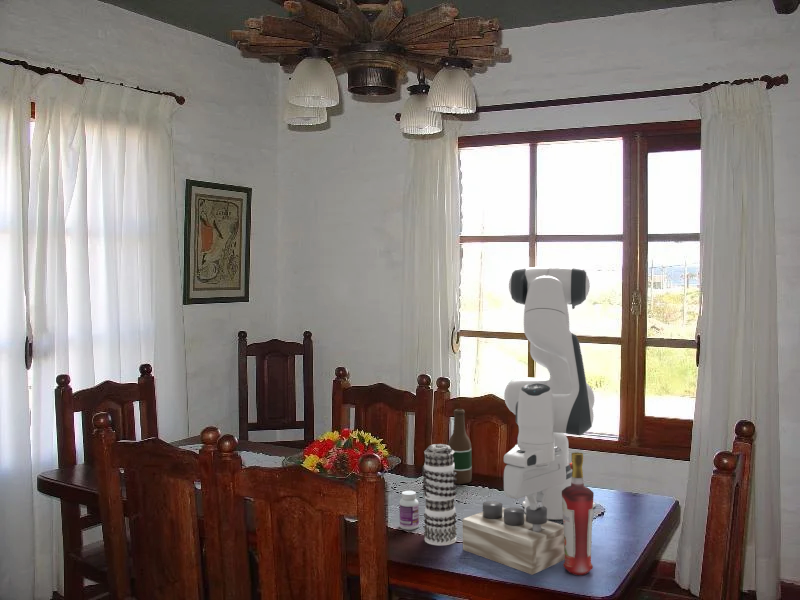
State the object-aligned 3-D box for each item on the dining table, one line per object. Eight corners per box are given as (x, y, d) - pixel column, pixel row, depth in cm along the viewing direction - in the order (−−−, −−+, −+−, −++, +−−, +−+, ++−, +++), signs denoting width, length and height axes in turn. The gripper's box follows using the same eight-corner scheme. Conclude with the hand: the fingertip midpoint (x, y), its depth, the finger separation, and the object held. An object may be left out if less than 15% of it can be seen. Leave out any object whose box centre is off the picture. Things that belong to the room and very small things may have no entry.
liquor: (558, 565, 185) (557, 450, 183) (588, 564, 185) (588, 449, 184) (566, 578, 177) (566, 458, 176) (598, 577, 178) (597, 457, 176)
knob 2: (512, 537, 196) (512, 506, 195) (528, 542, 192) (528, 510, 192) (500, 542, 193) (499, 510, 192) (515, 547, 189) (515, 515, 188)
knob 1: (491, 530, 201) (491, 500, 201) (506, 535, 197) (506, 504, 197) (479, 535, 198) (478, 504, 197) (493, 540, 194) (493, 508, 194)
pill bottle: (417, 530, 210) (416, 495, 210) (397, 529, 211) (397, 495, 211) (420, 524, 216) (420, 490, 215) (401, 523, 217) (401, 489, 216)
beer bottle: (472, 484, 253) (471, 411, 251) (449, 484, 253) (447, 412, 251) (470, 477, 260) (469, 407, 259) (447, 477, 260) (446, 407, 259)
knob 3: (534, 535, 191) (534, 504, 190) (551, 541, 187) (551, 508, 187) (522, 541, 187) (521, 508, 187) (538, 546, 184) (538, 513, 183)
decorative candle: (415, 539, 204) (414, 445, 203) (442, 531, 210) (440, 440, 208) (438, 548, 197) (436, 452, 195) (465, 540, 202) (463, 446, 201)
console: (498, 535, 205) (498, 506, 205) (567, 558, 189) (567, 526, 189) (462, 549, 196) (462, 518, 195) (532, 574, 180) (532, 541, 179)
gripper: (551, 443, 195) (551, 496, 196) (498, 457, 181) (499, 515, 182) (572, 447, 191) (572, 502, 191) (520, 462, 177) (520, 521, 177)
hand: (536, 508), depth 186 cm, fingers closed, pressing on knob 3
